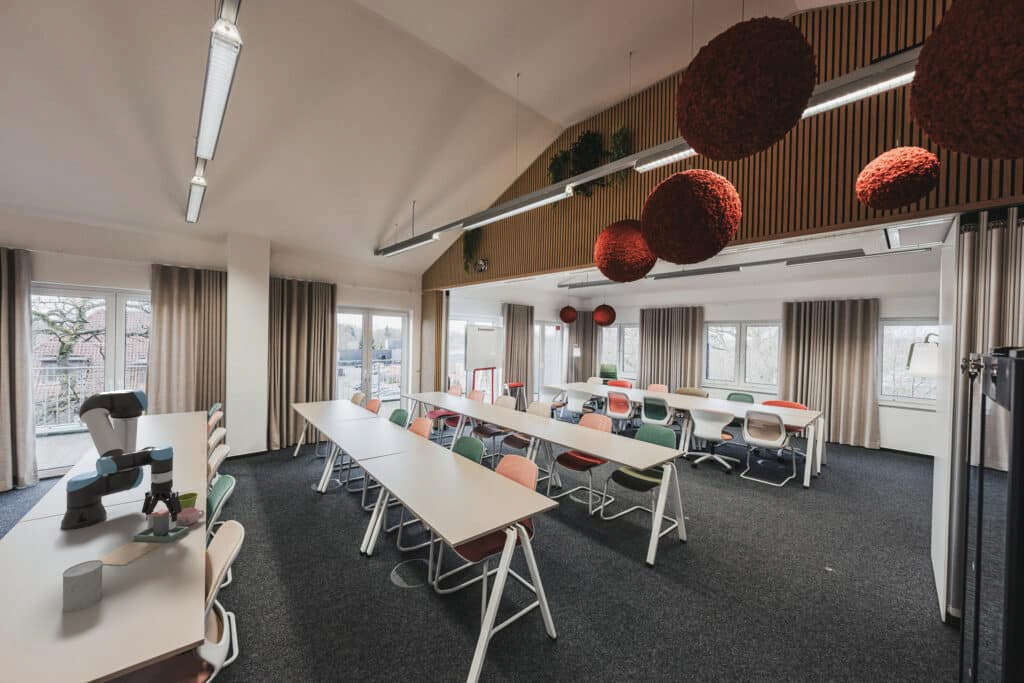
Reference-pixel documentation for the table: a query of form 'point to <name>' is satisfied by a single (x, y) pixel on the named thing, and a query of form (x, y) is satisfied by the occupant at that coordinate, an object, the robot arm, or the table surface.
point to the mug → (188, 516)
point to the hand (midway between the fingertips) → (161, 527)
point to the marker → (161, 523)
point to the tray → (170, 537)
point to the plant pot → (188, 500)
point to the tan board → (128, 553)
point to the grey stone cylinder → (82, 585)
